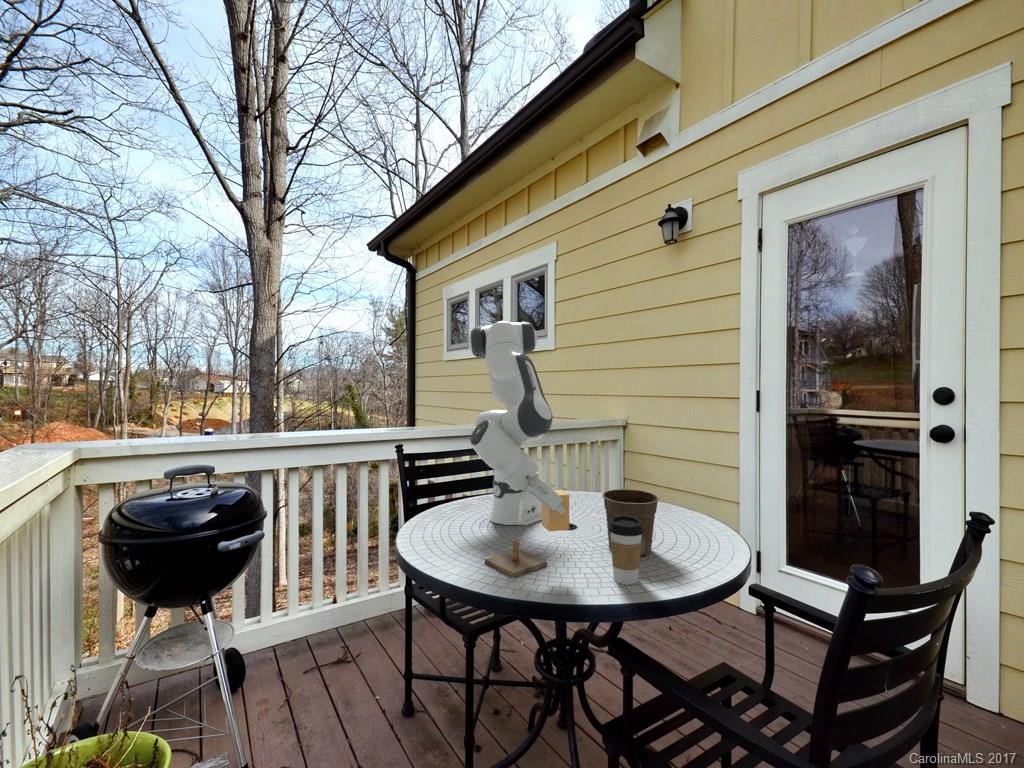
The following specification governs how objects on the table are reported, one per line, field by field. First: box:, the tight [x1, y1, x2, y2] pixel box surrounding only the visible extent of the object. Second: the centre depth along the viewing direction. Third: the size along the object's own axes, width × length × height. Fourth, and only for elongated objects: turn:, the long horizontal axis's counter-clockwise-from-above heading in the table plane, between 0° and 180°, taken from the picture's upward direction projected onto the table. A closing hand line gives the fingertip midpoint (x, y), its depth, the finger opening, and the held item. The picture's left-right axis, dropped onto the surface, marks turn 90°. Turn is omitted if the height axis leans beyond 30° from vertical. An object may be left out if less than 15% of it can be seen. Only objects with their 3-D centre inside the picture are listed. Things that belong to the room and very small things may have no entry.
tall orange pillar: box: [541, 489, 570, 532], centre depth 124 cm, size 6×6×9 cm
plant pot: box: [602, 488, 660, 557], centre depth 141 cm, size 16×16×16 cm
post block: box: [484, 540, 548, 578], centre depth 130 cm, size 12×12×6 cm
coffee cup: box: [609, 516, 643, 586], centre depth 120 cm, size 8×8×15 cm
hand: (557, 508), depth 125 cm, fingers closed on tall orange pillar, 5 cm apart
